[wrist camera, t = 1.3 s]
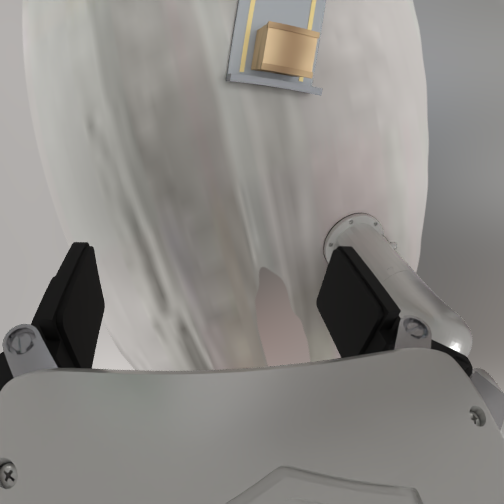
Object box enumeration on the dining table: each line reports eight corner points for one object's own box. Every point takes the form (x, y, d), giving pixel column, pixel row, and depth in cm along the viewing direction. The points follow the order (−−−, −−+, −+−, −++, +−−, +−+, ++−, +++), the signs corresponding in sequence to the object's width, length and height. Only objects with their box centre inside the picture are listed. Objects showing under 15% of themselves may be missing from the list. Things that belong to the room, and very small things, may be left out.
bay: (326, -22, 29) (341, -30, 24) (308, 92, 39) (321, 95, 35) (224, -43, 25) (229, -56, 21) (204, 78, 36) (205, 78, 32)
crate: (300, 38, 33) (320, 32, 27) (293, 77, 37) (312, 78, 31) (256, 29, 32) (268, 21, 26) (249, 70, 35) (261, 69, 29)
